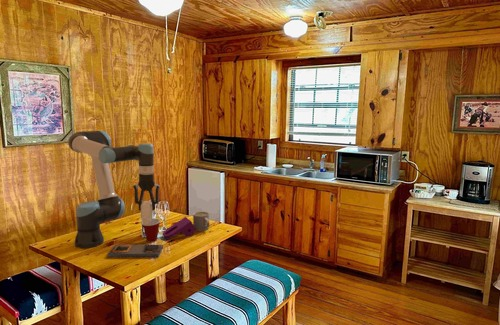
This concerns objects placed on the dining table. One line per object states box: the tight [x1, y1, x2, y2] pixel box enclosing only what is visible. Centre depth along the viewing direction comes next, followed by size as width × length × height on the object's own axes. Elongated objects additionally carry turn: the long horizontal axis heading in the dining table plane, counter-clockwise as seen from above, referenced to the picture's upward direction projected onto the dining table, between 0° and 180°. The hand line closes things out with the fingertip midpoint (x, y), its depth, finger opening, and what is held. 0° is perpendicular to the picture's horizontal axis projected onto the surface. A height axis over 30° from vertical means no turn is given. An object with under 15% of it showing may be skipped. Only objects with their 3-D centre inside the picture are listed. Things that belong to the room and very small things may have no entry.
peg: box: [141, 200, 153, 226], centre depth 182 cm, size 4×4×12 cm
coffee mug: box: [192, 211, 210, 232], centre depth 221 cm, size 13×10×10 cm
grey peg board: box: [107, 244, 164, 258], centre depth 185 cm, size 26×12×2 cm, turn 93°
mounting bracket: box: [162, 216, 196, 240], centre depth 211 cm, size 10×8×18 cm
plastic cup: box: [141, 217, 161, 243], centre depth 201 cm, size 11×11×12 cm
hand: (147, 216), depth 182 cm, fingers closed on peg, 4 cm apart
